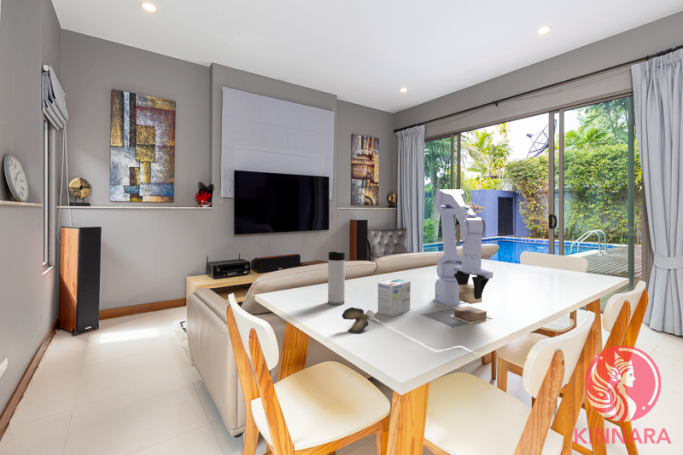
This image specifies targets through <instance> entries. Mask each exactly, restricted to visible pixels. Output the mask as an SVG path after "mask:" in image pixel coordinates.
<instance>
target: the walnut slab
mask: <svg viewBox="0 0 683 455" xmlns="http://www.w3.org/2000/svg"><path fill="white" fill-rule="evenodd" d="M455 308H456V309H454V316H455V317H458V318H460V319H463V320H466V321H469V322H476V321H480V320H485V319H486V318H487V317H488V316H487V311H486V310H483V309H480V308H477V307H473V306H470V305H467V306H461V307H460V308H458V307H455ZM485 321H486V320H485ZM480 322H481V321H480ZM476 323H477V322H476Z"/></svg>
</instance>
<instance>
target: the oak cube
mask: <svg viewBox="0 0 683 455" xmlns="http://www.w3.org/2000/svg"><path fill="white" fill-rule="evenodd" d="M459 300H460V301H463V302H466V303H465V304H469V305H474V304H478V303H483V295H482V296H481V299H475V297H474V284H473V283H468V284H464V285H459Z"/></svg>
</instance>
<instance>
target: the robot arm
mask: <svg viewBox="0 0 683 455" xmlns="http://www.w3.org/2000/svg"><path fill="white" fill-rule="evenodd" d="M434 198H435V208H436V212H437V213H439V214H440V219H441V220H440V221H441V230H442V231H441V232H442V244H443V246H442V247H443V255H442V256H439V258H438V259H437V261H436V263H437V264H436V275H437V277H438V278H437V279H436V281H435V283H434V298H432V299H433V301H436V302H438V303H442V304H445V305H448V306H457V305H463V304H467V303H466V302H463V301H460V300H459V285H464V284H469V279H470V276H472V277H471V279H472V284H473V285H474V297H475V299H481V296H482V297H483V292H484V290H485V287H486V285H487V284H488V283H489V281H490V279H493V278H494V276H493V275H494V271H490V270H486V269H484V268H482V248H483V247H482V246H483V245H482V243H483V242H482V241H483V240H482V239H483V238H482V237H483V236H484V235H485V233H486V221H485V219H484V218H483V217H478V216H477V215H476V213H475V212H474V211H473V209H472V208H471V207H470V206H469V205H466V203H465V192H464V189H461V188H460V189H441V188H439V189H437V191H436V192H435V197H434ZM455 218H456V219H457V220H456V221H458V224H459V225H460V226H459V231H460V238H461V241H462V248H461V249H462V253H461V254H462V256H460V255H459V254H458V252H457V251H458V250H457V248H458V247H457V239H456V238H457V237H456V226H455Z"/></svg>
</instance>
